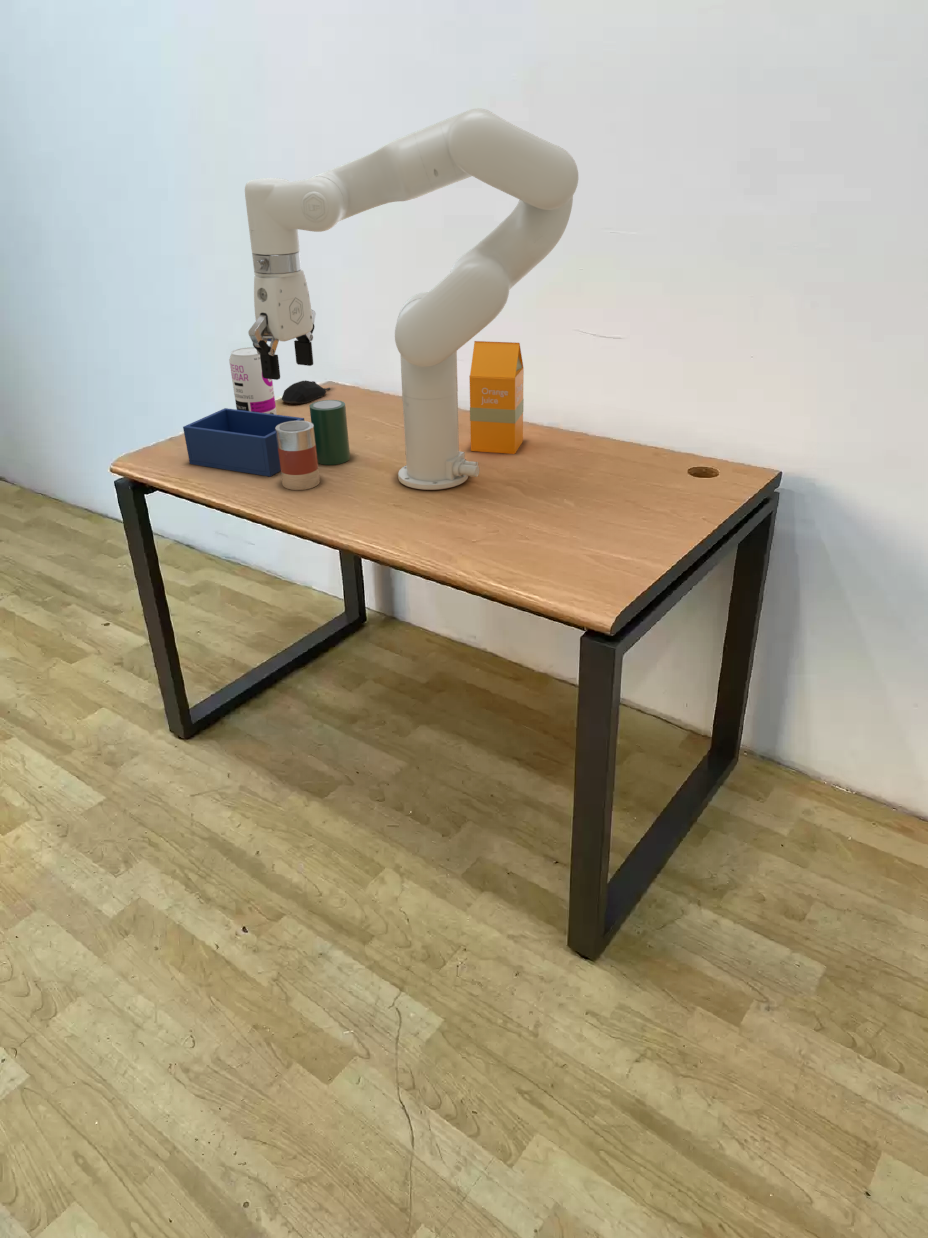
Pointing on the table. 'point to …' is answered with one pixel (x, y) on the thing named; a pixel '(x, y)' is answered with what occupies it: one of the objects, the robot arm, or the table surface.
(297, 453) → the silver can
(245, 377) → the supplement can
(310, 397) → the gaming mouse
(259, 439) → the blue storage box
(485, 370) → the orange juice
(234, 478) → the table surface
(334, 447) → the green can
